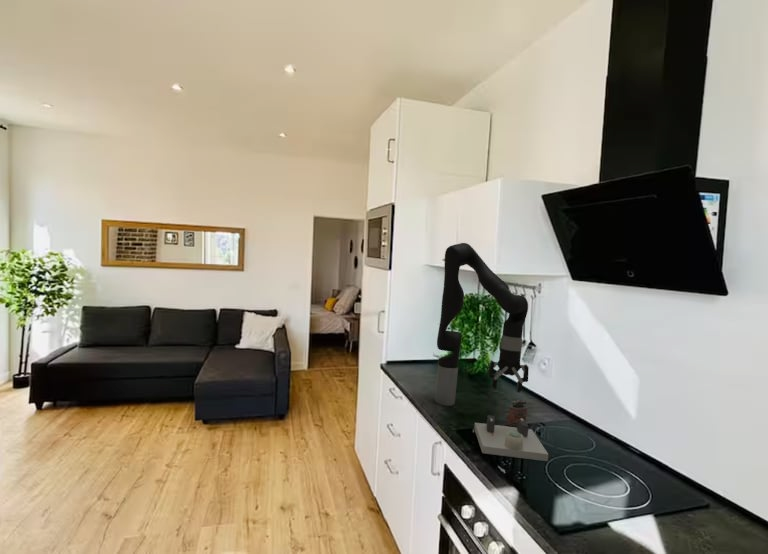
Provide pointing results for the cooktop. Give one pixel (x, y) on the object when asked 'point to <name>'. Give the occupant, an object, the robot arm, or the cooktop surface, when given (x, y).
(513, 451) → the base plate
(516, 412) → the lighter
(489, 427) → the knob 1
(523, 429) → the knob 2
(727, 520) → the cooktop surface
